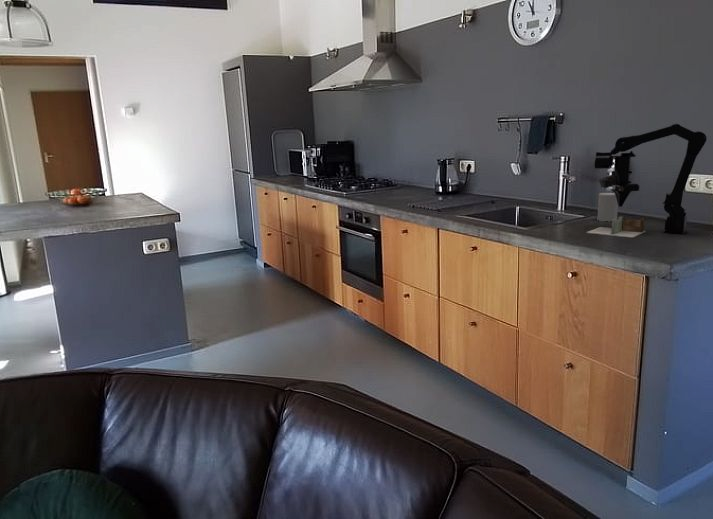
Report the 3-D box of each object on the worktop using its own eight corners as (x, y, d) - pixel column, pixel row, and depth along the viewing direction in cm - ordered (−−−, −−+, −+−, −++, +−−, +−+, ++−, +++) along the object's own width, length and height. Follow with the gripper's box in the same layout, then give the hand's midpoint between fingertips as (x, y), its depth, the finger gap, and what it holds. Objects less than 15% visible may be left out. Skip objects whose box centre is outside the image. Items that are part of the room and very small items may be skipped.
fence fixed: (643, 232, 219) (644, 218, 218) (642, 233, 218) (643, 218, 217) (619, 230, 225) (620, 216, 224) (618, 230, 225) (619, 216, 223)
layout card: (645, 231, 220) (645, 231, 220) (632, 237, 211) (632, 237, 211) (599, 227, 233) (599, 226, 233) (586, 233, 223) (586, 232, 223)
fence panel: (618, 229, 224) (619, 216, 223) (621, 230, 223) (622, 216, 222) (611, 233, 218) (612, 219, 217) (614, 233, 217) (615, 219, 216)
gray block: (600, 218, 255) (602, 192, 252) (619, 219, 250) (620, 193, 247) (595, 220, 249) (596, 194, 246) (614, 222, 244) (615, 195, 241)
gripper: (592, 168, 231) (591, 204, 234) (612, 171, 213) (610, 210, 216) (619, 166, 231) (617, 203, 234) (641, 169, 212) (638, 209, 216)
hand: (620, 206), depth 225 cm, fingers closed
